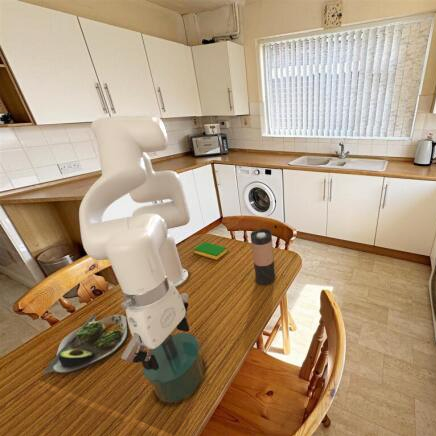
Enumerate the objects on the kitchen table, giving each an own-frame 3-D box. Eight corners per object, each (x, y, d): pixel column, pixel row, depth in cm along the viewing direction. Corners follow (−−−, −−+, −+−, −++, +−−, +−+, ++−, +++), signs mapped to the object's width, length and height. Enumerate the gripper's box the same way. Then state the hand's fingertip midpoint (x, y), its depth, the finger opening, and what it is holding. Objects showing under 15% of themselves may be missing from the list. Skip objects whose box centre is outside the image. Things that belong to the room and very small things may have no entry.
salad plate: (62, 331, 73) (55, 320, 71) (129, 307, 81) (125, 297, 79) (43, 388, 58) (33, 376, 56) (128, 352, 66) (122, 340, 64)
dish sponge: (217, 260, 105) (216, 255, 104) (194, 253, 111) (193, 248, 110) (227, 251, 111) (226, 247, 110) (205, 245, 117) (204, 241, 116)
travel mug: (272, 286, 89) (268, 239, 80) (252, 283, 90) (246, 238, 82) (277, 273, 96) (274, 229, 87) (259, 271, 97) (254, 228, 89)
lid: (131, 376, 52) (121, 356, 49) (170, 331, 63) (164, 312, 60) (176, 392, 49) (168, 372, 46) (210, 341, 59) (205, 322, 56)
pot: (145, 395, 56) (134, 372, 52) (177, 353, 65) (170, 331, 62) (184, 410, 53) (175, 387, 49) (212, 363, 62) (206, 341, 59)
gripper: (122, 328, 38) (152, 391, 46) (191, 266, 53) (205, 320, 61) (89, 319, 41) (122, 380, 48) (164, 261, 55) (181, 314, 63)
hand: (169, 347), depth 54 cm, fingers open, 9 cm apart
